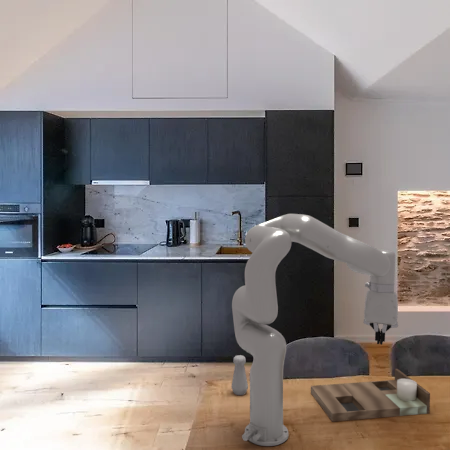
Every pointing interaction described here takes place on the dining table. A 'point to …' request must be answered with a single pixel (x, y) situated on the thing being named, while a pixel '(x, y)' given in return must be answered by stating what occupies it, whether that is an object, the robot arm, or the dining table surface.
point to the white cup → (406, 389)
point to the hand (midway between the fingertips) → (379, 343)
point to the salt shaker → (239, 376)
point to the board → (369, 400)
